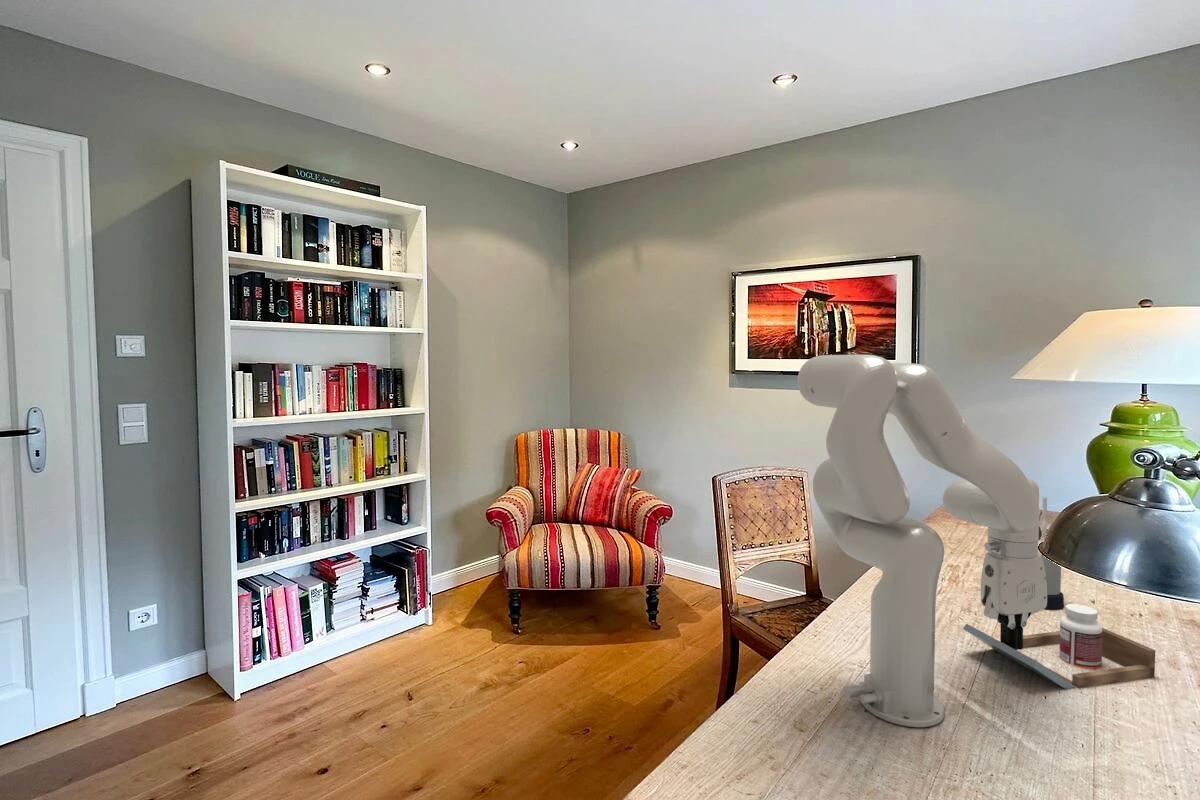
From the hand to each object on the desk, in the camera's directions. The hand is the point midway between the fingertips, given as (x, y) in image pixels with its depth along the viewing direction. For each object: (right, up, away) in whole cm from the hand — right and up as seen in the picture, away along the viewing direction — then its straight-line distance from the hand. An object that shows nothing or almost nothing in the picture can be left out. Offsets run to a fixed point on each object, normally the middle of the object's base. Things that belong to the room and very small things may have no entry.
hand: (1011, 646), depth 111 cm
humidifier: (+29, -3, +32) cm, 43 cm away
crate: (+14, -5, +3) cm, 15 cm away
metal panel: (+5, -4, +1) cm, 7 cm away
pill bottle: (+15, -5, +3) cm, 16 cm away
